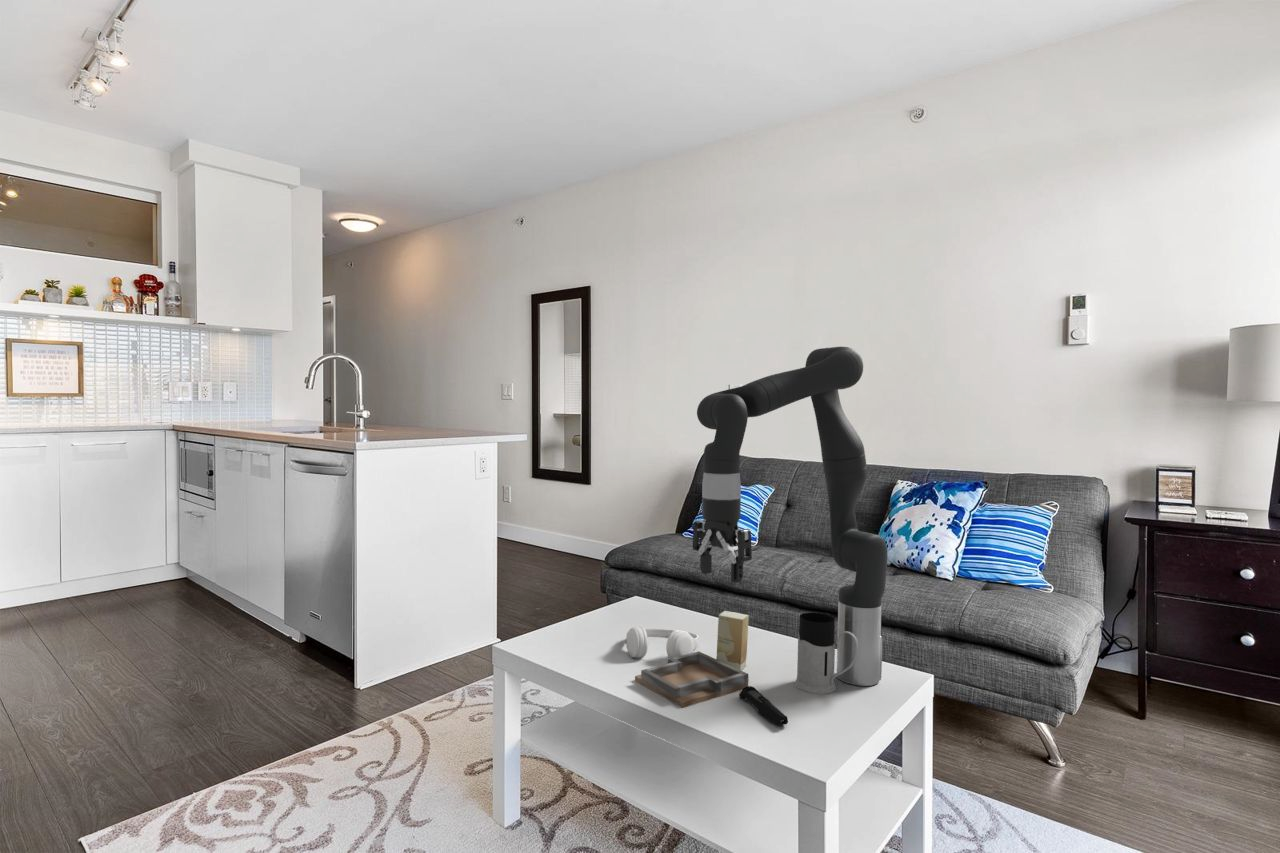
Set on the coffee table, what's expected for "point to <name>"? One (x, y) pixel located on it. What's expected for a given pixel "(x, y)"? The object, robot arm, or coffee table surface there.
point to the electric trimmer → (763, 705)
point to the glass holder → (818, 653)
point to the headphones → (676, 642)
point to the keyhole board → (693, 679)
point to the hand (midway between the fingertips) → (720, 577)
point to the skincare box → (732, 639)
